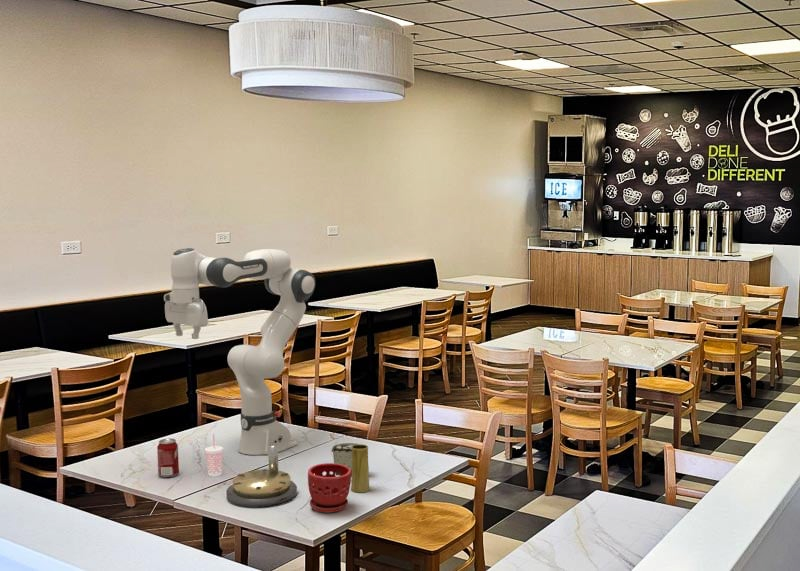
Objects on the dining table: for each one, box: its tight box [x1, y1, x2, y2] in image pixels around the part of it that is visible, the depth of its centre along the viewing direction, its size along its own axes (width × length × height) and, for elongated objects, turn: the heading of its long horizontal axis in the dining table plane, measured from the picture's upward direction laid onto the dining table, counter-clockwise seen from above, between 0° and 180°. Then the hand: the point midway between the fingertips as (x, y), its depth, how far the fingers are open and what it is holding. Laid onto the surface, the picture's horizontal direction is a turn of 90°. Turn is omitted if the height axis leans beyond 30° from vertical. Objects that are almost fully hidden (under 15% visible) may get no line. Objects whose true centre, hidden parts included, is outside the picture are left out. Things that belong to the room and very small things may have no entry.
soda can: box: [156, 438, 180, 479], centre depth 282 cm, size 7×7×12 cm
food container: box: [330, 442, 358, 478], centre depth 282 cm, size 12×6×10 cm, turn 71°
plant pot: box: [307, 462, 352, 513], centre depth 252 cm, size 13×13×12 cm
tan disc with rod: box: [232, 444, 291, 498], centre depth 262 cm, size 18×18×12 cm
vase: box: [350, 443, 371, 494], centre depth 267 cm, size 6×6×14 cm
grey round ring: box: [225, 480, 298, 509], centre depth 263 cm, size 22×22×2 cm
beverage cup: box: [204, 433, 224, 477], centre depth 282 cm, size 6×6×14 cm
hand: (187, 337), depth 282 cm, fingers open, 8 cm apart
